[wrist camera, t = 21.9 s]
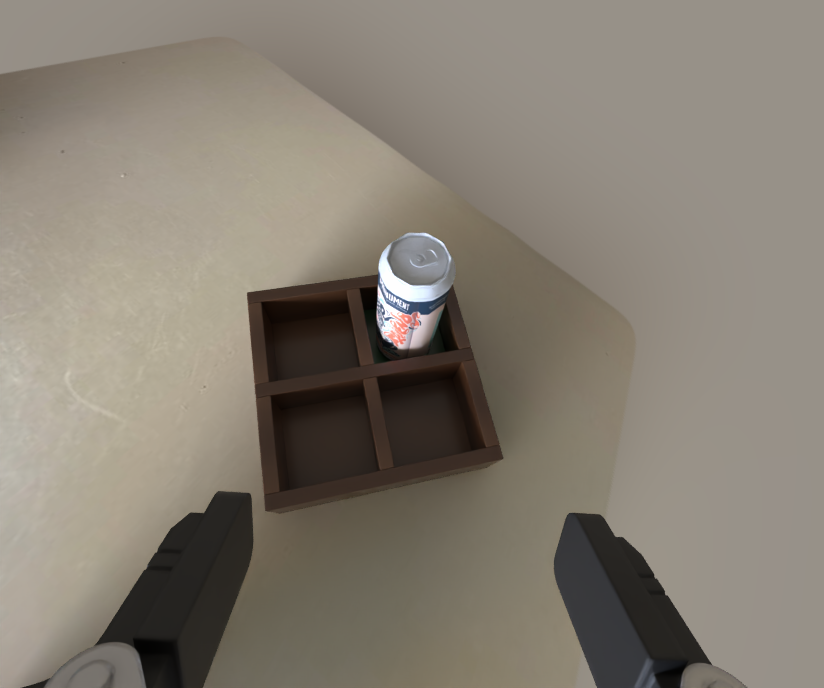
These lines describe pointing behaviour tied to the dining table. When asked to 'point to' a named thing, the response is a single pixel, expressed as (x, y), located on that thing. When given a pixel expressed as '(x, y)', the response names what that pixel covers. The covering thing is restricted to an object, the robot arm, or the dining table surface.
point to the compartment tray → (359, 398)
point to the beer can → (412, 294)
